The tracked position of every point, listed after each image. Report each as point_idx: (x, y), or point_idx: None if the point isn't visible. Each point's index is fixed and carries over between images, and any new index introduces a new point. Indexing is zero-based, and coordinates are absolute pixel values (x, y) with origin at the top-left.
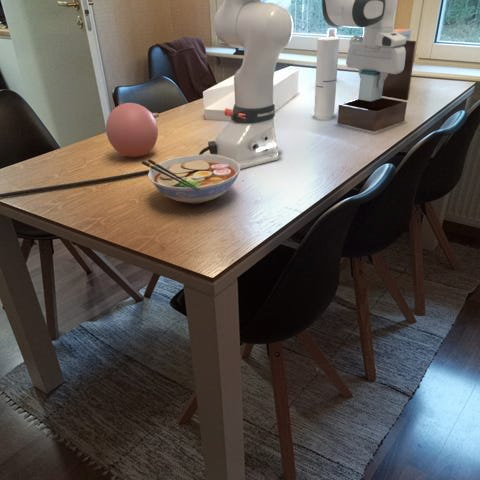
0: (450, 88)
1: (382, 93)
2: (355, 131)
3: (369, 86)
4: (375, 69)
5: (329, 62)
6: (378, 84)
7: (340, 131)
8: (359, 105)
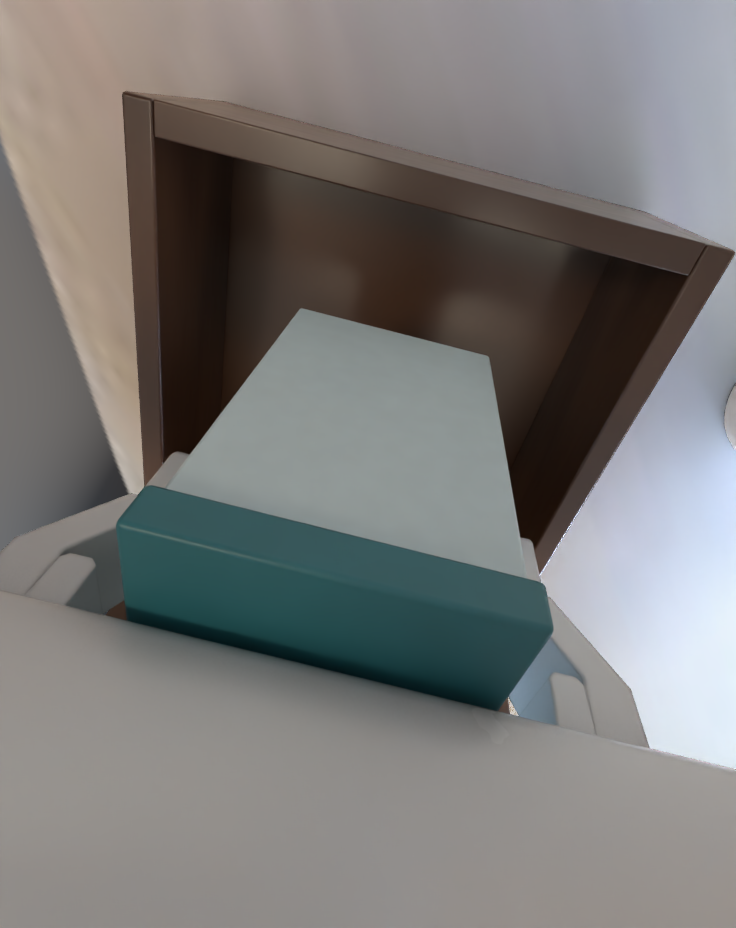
0: None
1: None
2: (413, 100)
3: (299, 394)
4: (133, 655)
5: None
6: None
7: (560, 8)
8: (528, 506)
